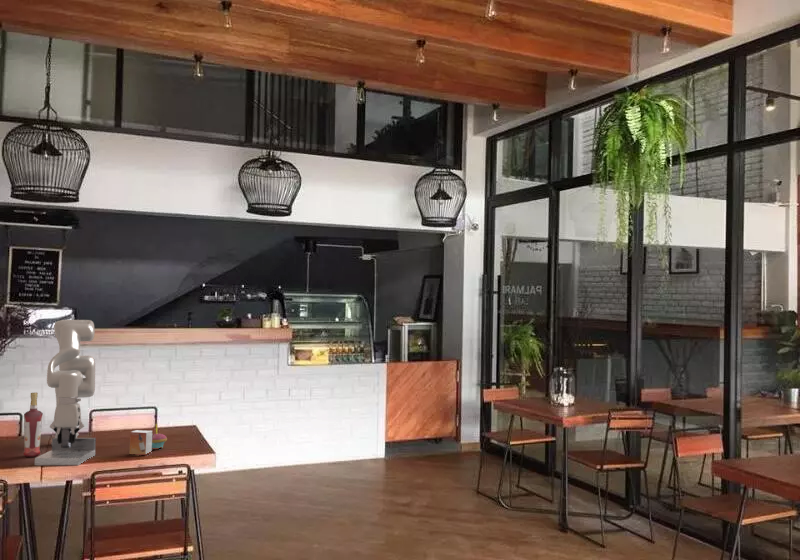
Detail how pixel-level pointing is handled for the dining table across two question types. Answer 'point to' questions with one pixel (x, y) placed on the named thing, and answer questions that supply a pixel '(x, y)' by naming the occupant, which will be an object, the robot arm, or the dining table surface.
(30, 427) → the liquor
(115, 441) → the dining table surface
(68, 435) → the bushing
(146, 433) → the small box
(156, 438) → the cupcake
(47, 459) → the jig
